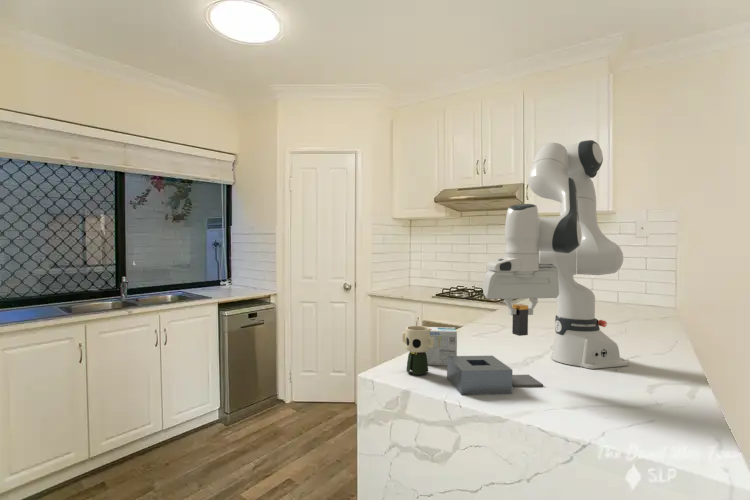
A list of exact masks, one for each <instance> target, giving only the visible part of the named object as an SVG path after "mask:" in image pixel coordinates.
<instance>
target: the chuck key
mask: <svg viewBox="0 0 750 500" xmlns="http://www.w3.org/2000/svg"><path fill="white" fill-rule="evenodd" d="M528 306H529V304H528V305H526V304H522V303H516V304H512V307H513V308H515V309H517V310H516V315H512V332H511V333H512V334H513V335H515V336H519V337H521V336H528V335H529V315H528Z"/></svg>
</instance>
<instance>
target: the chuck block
mask: <svg viewBox="0 0 750 500" xmlns="http://www.w3.org/2000/svg"><path fill="white" fill-rule="evenodd" d="M512 375H513V369H512V368H511V367H510V366H508V365H506V364H505V363H503V362H502V361H501V360H500V359H498V358H496V357H495V356H494V355H457V356H447V365H446V378H447V379H448V381H449V382H450V383H451V385H453V386H454V388H455V389H456V390H457V392H458V393H459V394H460V395H462V396H464V395H467V396H469V395H508V394H509V395H510V394H511V395H512V394H513V386H512Z"/></svg>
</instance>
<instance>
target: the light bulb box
mask: <svg viewBox="0 0 750 500" xmlns="http://www.w3.org/2000/svg"><path fill="white" fill-rule="evenodd" d="M428 327H429V328H430V336H431V337H433V338H434V348H433V349H432V348H430V350H429V351H427V352H425V353H426V355H427V362H428V366H447V356H458V333H457V332H458V331H457V329H456V327H449V326H447V327H446V326H445V327H444V326H441V327H440V326H428ZM430 345H431V340H430Z"/></svg>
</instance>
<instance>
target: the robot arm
mask: <svg viewBox="0 0 750 500" xmlns="http://www.w3.org/2000/svg"><path fill="white" fill-rule="evenodd" d="M603 161H604V157H603V151H602V149H601V147H600V145H599V144H598V143H597V142H596V141H594V140H591V139H588V140H582V141H580V142H579V143H574V144H570V145H567V146H564V145H562V144H561V143H558V142H549V143H546V144H544V145H543V146H541V147H540V148H539V150H538V151H537V153H536V154H535V157H534V158H533V161H532V162H531V165H530V169H529V172H528V175H527V176H528V177H527V184H528V186H529V188H530V190H531V191H532V193H534V194H535V195H536V196H538V197H540V198H542V199H547V200H553V201H557V202H558V203H560V204H559V208H560V209H559V215H558V216H545V217H544V216H543V217H542V216H539V211H538V210H539V209H538V207H537V206H538V205H536V204H533V203H522V204H521V203H520V204H514V205H511V206H509V207H508V208H507V212H506V216H505V223H504V240H505V249H504V256H503V257H501V258H498V259H494V260H490V261H489V262H486V269H487V270H488V271H487V272H486V273H485V275H484V278H483V286H482V290H483V291H482V293H483V295H484V297H485V298H486V299H488V300H489V299H490V300H502V299H503V300H504V303H505V305H506V306H507V308H508V315H509V316H513V315H516V310H517V309H515V308H513V302H514V301H513V300H514V299H516V300H518V299H520V300H522V299H528V301H529V302H530V303H529V304H528V316H533V315H534V309H535V308H536V306H537V304H538V299H556V315H555V318H554V319H555V321H554V330H555V339H554V344H553V348H552V351H551V354H550V359H551V360H553V361H555V362H558V363H562V364H566V365H569V366H570V365H571V366H575V367H581V368H586V369H590V370H591V369H592V370H593V369H594V370H595V369H605V368H615V367H616V368H618V367H626V366H629V361H628V360H626V359H625V358H623V357H621V355H620V349H619V346H618V344H617V343H616V342H615V341H614V340H613V339H611V338H610V337H609V336H608V335H607V334H605V333H604V332H603V331H602V330H601V328H600V327H602V328H606V327H607V325H608V322H607V321H606V320H603V319H597V318H596V317H595V316H596V296H595V294H594V292H593V291H592V290H591V289H589V287H587V286H584V285H582V284H580V283H578V281H576V280H575V279H574V278H575V277H574V276H575V275H585V276H586V275H588V276H591V275H592V276H604V275H611V274H616V273H617V272H618V271H619V270H620V269H621V267H622V265H623V264H624V253H623V251H622V249H621V246H619V245H618V244H617V243H616V242H614V241H612V240H610V239H609V238H608V237H606V236H605V234H604V233H603V232H602V230H601V229H600V226H599V223H598V216H597V196H596V188H595V185H594V181H593V180H592V179H594V178H595V177H596V176H597V174H598V171H599V170H600V169H601V166H602V165H603Z"/></svg>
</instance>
